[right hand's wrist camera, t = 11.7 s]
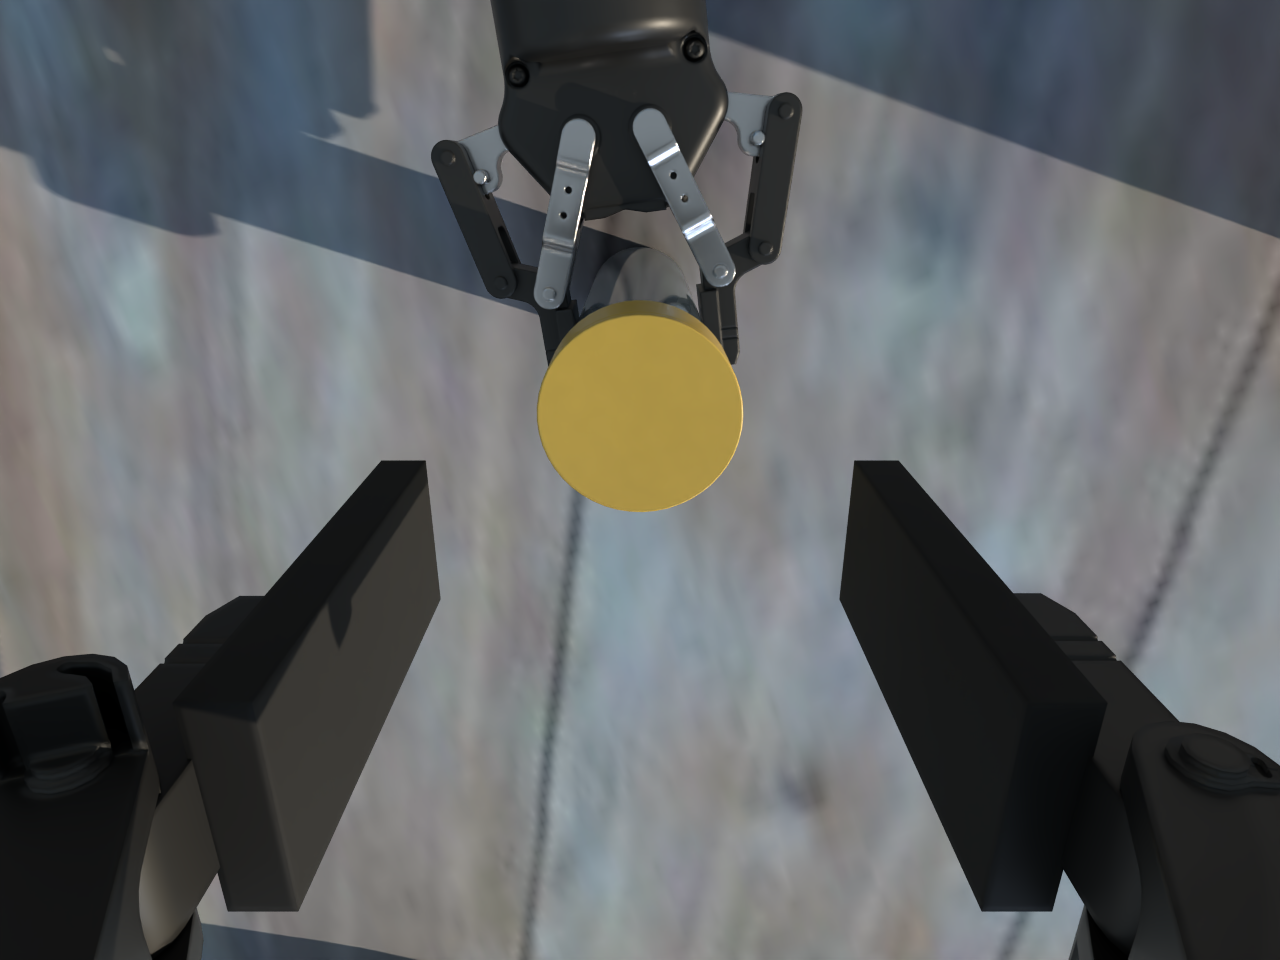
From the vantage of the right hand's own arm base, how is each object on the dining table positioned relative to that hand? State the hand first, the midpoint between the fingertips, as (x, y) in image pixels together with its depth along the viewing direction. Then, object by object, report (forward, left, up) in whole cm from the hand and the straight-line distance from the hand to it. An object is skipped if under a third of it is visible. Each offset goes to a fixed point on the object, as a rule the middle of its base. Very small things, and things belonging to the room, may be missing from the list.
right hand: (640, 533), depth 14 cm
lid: (0, 0, -7) cm, 7 cm away
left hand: (-1, -2, -20) cm, 20 cm away
